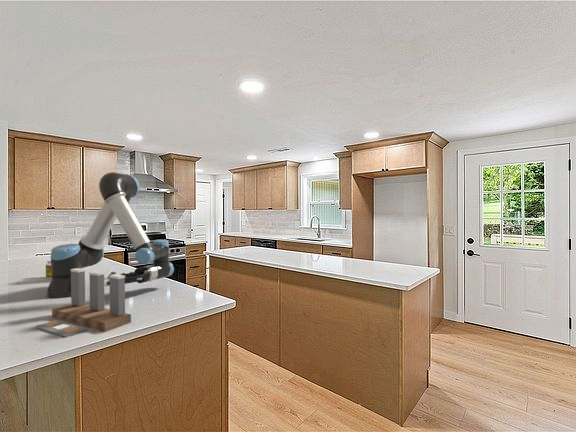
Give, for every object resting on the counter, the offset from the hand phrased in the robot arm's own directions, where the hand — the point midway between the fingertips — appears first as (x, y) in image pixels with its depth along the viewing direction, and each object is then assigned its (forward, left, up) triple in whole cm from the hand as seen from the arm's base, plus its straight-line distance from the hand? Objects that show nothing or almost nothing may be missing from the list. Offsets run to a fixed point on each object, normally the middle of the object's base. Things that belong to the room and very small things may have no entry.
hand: (98, 284), depth 138 cm
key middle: (+6, -13, -6) cm, 16 cm away
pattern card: (0, -25, -9) cm, 26 cm away
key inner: (-4, -7, -6) cm, 10 cm away
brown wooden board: (+5, -15, -9) cm, 19 cm away
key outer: (+16, -19, -6) cm, 26 cm away
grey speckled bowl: (-18, +52, -10) cm, 56 cm away
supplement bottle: (-56, +58, -10) cm, 81 cm away
